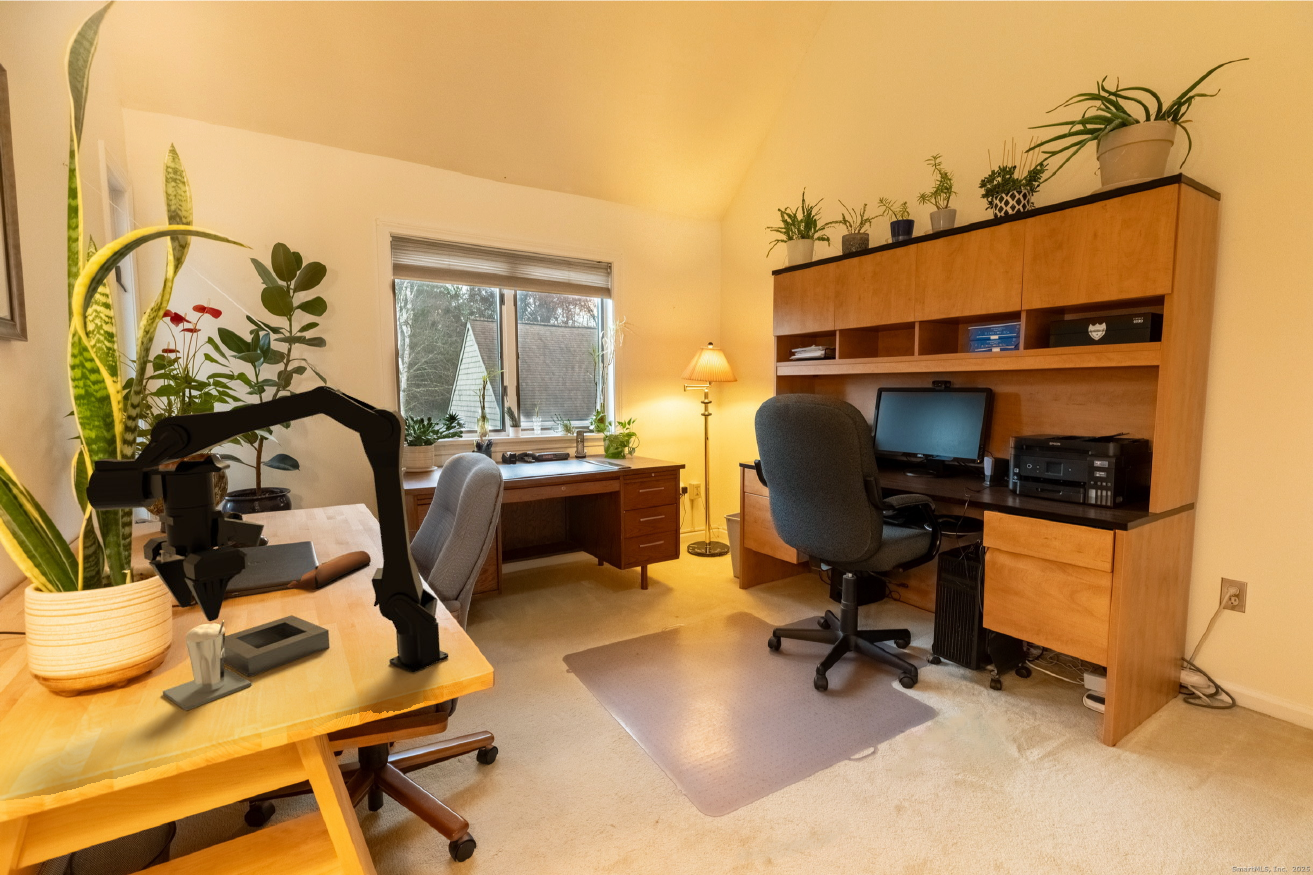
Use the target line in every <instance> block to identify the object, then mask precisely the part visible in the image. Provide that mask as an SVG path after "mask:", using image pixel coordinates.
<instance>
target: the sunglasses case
mask: <svg viewBox="0 0 1313 875" xmlns="http://www.w3.org/2000/svg"><path fill="white" fill-rule="evenodd" d="M371 558H372V557H371V556H370V554H369V553H368V552H367V551H365V550H357V551H351V552H347V553H345V554H342V555H338V556H336V557H335V558H332V559H330V560H328V561H325V562H322V563H320V564H319V565H316V566H315V567H314V569H312V570H310V571H308V572H306V573H304V574H303V576H302V575H301V576H302V578H301V581H300V582H299V583H298V582H296V581H294V580H293V581H292V582H290V583H289V584H288V585H287V586H286V587H287V588H288V589H290V588H291V589H292V588H293V589H294V588H295V589H308V590H318V589H319V588H322V587H324V586H325V585H328V584H329V583H330V582H333V580H336V579H338V578H340V576H343V575H345V574H348V573H350V572H352V571H354V570H356V569H359V568H361V567H363V566H365V565H370V564H371V562H372V559H371Z"/></svg>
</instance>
